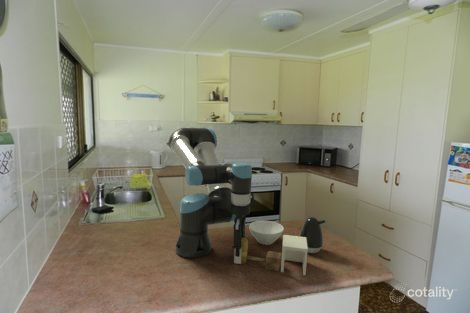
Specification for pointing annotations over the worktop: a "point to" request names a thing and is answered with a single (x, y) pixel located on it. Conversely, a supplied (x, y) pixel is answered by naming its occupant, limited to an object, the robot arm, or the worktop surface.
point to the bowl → (266, 231)
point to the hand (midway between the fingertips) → (238, 260)
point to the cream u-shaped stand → (294, 250)
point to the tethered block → (271, 259)
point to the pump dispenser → (312, 234)
